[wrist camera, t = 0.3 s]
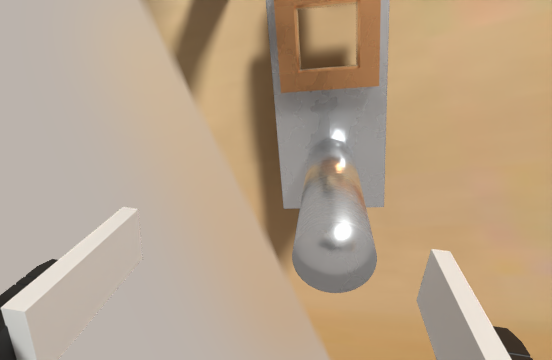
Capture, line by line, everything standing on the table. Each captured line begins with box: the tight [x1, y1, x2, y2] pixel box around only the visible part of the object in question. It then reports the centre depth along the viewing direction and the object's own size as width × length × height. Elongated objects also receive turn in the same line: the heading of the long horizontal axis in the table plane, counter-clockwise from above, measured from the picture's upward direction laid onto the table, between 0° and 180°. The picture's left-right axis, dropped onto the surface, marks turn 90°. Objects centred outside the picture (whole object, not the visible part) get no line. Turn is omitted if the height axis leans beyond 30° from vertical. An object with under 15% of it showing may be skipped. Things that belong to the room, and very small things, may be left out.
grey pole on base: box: [266, 0, 389, 293], centre depth 27 cm, size 26×10×24 cm, turn 5°
